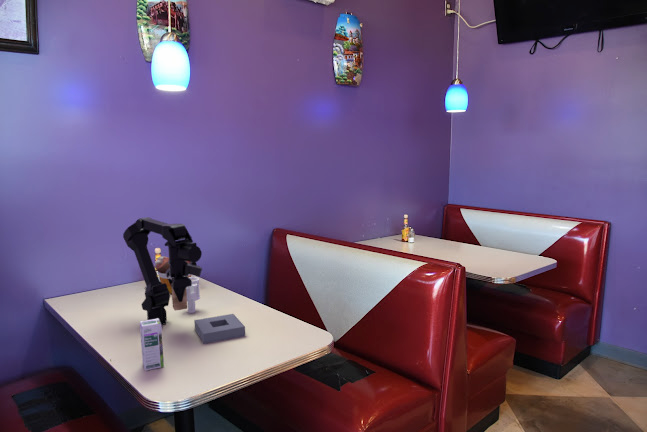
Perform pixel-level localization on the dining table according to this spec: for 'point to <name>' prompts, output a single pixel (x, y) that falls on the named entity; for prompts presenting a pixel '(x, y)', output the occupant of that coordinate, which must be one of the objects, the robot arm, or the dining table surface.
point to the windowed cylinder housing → (193, 294)
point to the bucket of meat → (162, 268)
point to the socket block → (219, 328)
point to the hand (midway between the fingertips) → (179, 299)
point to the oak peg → (176, 303)
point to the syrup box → (151, 344)
